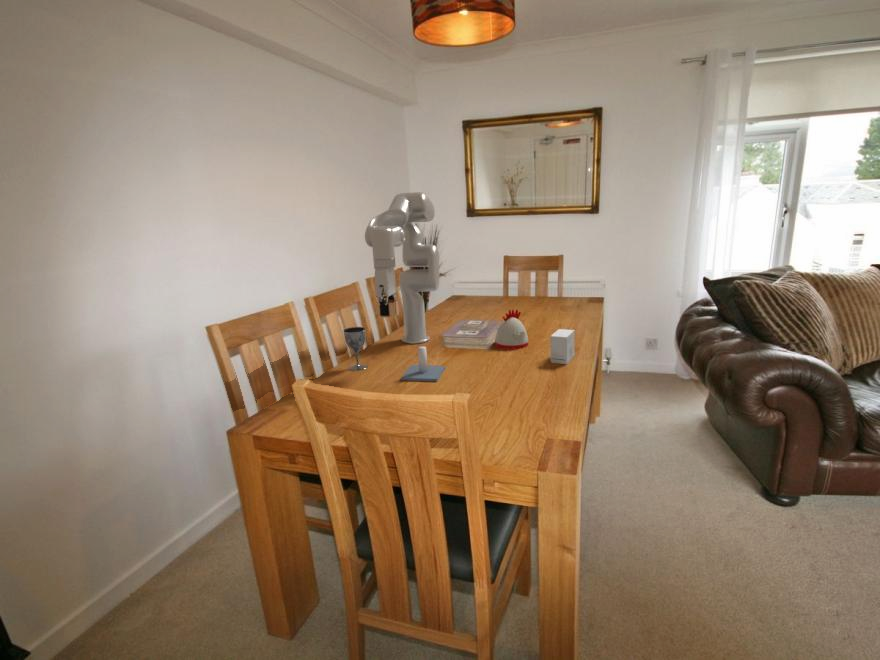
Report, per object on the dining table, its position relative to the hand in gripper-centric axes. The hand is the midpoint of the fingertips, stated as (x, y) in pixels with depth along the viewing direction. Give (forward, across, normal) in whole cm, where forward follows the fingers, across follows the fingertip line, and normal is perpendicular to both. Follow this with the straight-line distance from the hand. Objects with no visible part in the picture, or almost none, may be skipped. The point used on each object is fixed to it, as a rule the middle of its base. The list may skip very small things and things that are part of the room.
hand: (388, 312), depth 166 cm
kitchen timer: (+22, -35, +41) cm, 58 cm away
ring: (+1, 0, 0) cm, 1 cm away
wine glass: (+22, -1, -14) cm, 26 cm away
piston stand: (+22, +3, +13) cm, 25 cm away
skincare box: (+22, -17, +61) cm, 67 cm away
